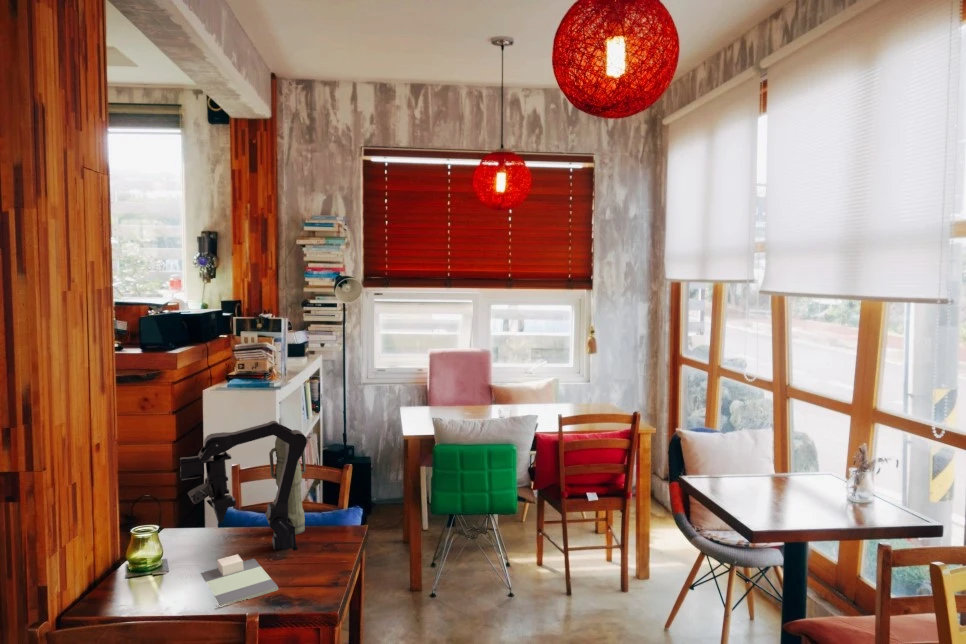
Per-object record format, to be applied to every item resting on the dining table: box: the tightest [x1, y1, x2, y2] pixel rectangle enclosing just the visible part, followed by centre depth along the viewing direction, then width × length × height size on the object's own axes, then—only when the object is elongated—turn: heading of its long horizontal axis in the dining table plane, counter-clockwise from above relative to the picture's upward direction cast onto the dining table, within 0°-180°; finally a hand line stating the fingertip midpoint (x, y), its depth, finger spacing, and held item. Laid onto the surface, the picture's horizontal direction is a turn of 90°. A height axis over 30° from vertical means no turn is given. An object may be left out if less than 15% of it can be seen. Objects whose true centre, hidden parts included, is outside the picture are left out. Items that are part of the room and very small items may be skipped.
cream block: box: [217, 553, 244, 576], centre depth 207 cm, size 6×6×3 cm
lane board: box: [205, 565, 279, 607], centre depth 200 cm, size 16×24×1 cm, turn 34°
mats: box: [200, 558, 279, 604], centre depth 200 cm, size 16×24×1 cm, turn 34°
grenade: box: [268, 436, 307, 536], centre depth 237 cm, size 9×12×35 cm
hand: (220, 522), depth 214 cm, fingers closed
